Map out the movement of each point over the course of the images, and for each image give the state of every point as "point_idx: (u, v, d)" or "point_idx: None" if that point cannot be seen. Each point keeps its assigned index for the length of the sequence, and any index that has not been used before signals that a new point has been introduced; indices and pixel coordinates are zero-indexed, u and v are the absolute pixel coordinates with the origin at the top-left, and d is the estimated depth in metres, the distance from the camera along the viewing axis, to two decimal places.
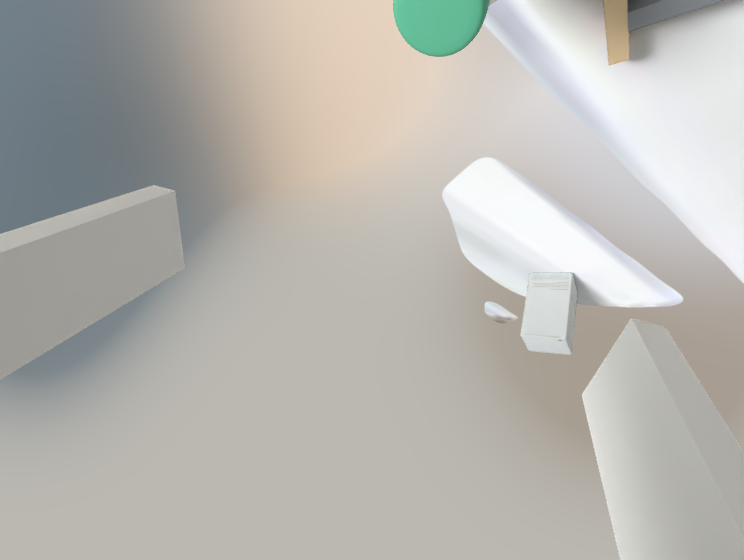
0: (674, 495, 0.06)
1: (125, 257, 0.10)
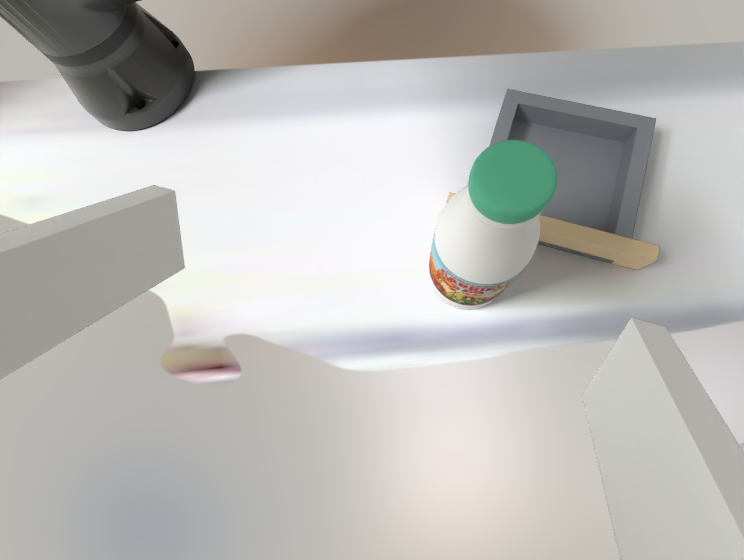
0: (674, 495, 0.06)
1: (125, 257, 0.10)
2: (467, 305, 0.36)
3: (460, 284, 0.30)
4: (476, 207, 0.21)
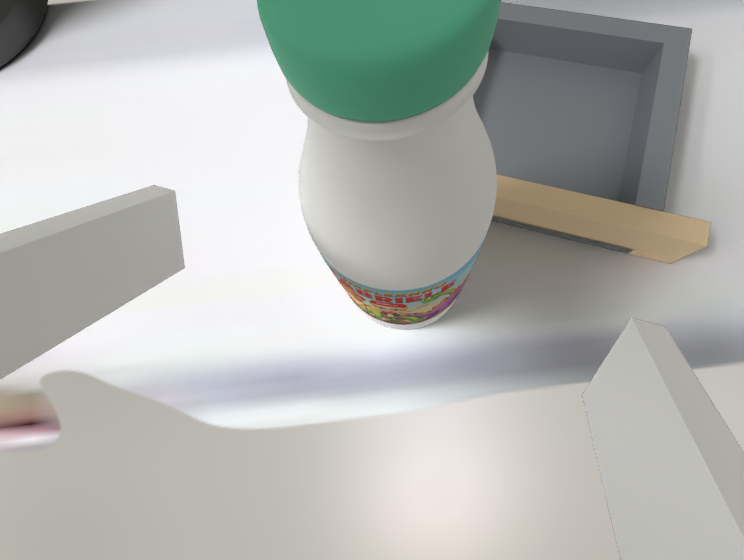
0: (674, 495, 0.06)
1: (125, 257, 0.10)
2: (398, 324, 0.22)
3: (359, 291, 0.16)
4: (289, 81, 0.08)
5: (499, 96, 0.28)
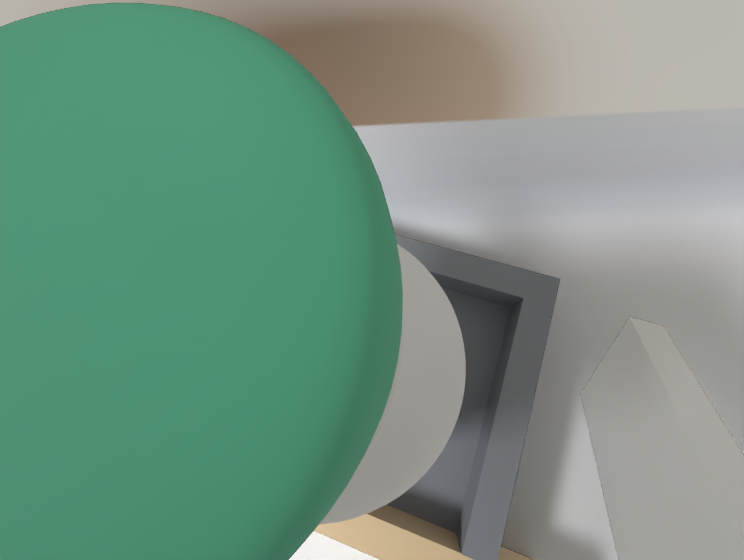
0: (671, 493, 0.06)
1: None
2: None
3: None
4: None
5: None
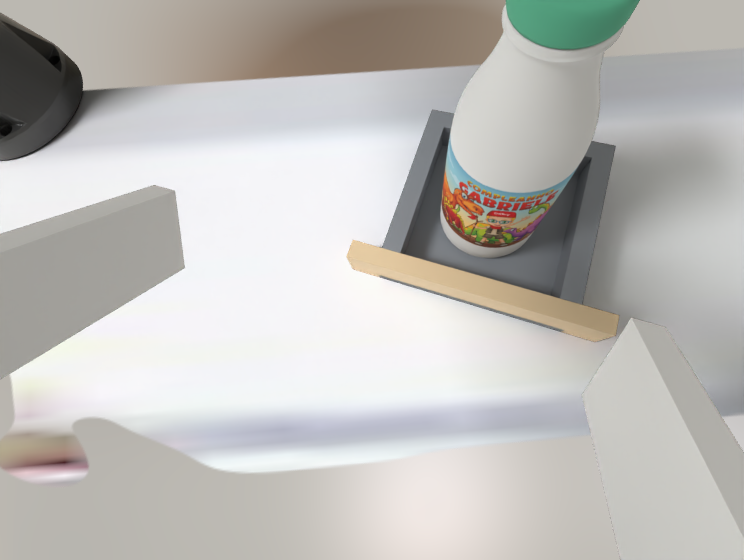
0: (674, 495, 0.06)
1: (125, 257, 0.10)
2: (491, 248, 0.28)
3: (485, 201, 0.22)
4: (520, 28, 0.14)
5: None
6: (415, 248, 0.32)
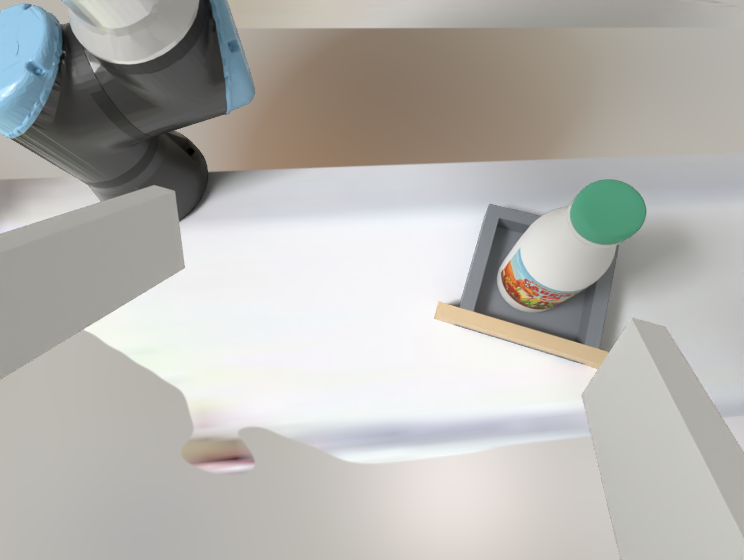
0: (674, 495, 0.06)
1: (125, 257, 0.10)
2: (537, 309, 0.41)
3: (542, 291, 0.36)
4: (578, 232, 0.27)
5: None
6: (479, 304, 0.45)
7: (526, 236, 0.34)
